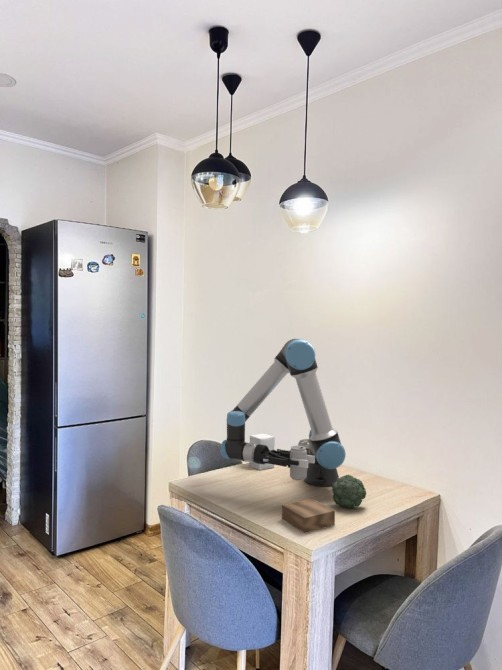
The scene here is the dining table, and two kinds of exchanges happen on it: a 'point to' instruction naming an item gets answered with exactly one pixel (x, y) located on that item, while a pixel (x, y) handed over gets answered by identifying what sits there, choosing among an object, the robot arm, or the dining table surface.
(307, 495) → the dining table surface
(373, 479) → the dining table surface
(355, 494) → the vegetable
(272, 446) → the supplement box
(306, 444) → the food container
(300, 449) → the beverage can
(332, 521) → the walnut block
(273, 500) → the dining table surface
